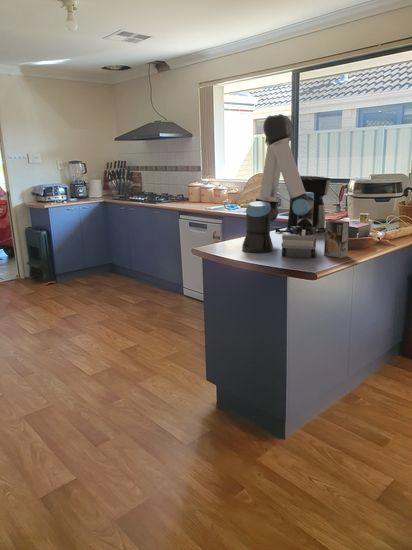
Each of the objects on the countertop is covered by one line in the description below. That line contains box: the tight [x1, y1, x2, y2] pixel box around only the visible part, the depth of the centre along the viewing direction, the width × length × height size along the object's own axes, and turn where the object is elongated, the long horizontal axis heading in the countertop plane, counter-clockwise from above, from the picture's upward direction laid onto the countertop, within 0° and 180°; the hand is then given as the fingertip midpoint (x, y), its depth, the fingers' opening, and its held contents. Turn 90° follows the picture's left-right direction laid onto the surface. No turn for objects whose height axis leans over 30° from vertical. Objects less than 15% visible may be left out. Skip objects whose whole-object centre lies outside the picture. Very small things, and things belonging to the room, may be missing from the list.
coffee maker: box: [275, 175, 331, 233], centre depth 263 cm, size 23×32×34 cm
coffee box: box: [323, 219, 350, 259], centre depth 199 cm, size 9×6×16 cm
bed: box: [280, 237, 317, 259], centre depth 202 cm, size 15×15×7 cm
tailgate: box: [281, 234, 315, 247], centre depth 189 cm, size 13×2×13 cm
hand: (303, 235), depth 185 cm, fingers closed
